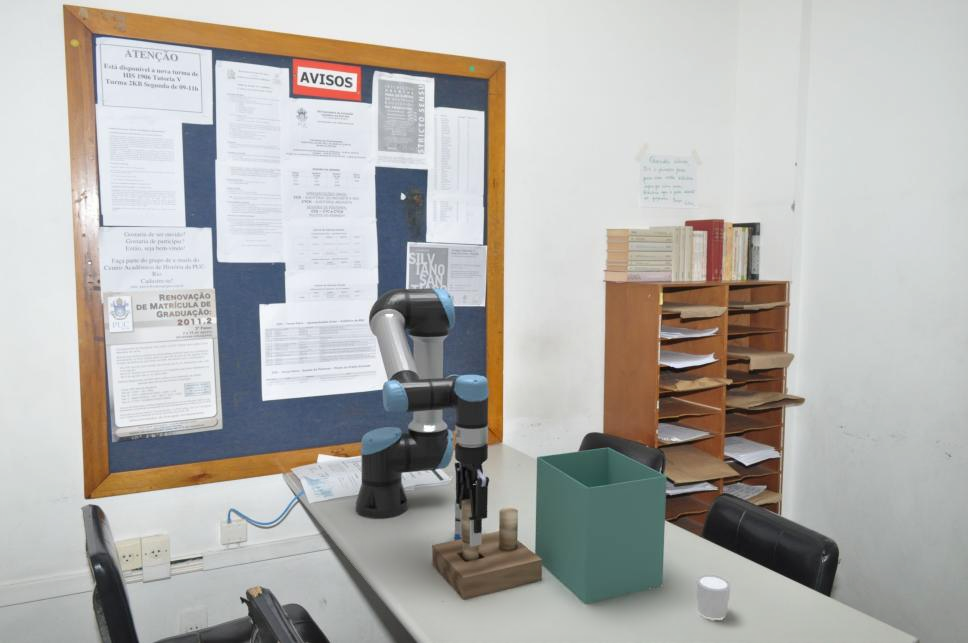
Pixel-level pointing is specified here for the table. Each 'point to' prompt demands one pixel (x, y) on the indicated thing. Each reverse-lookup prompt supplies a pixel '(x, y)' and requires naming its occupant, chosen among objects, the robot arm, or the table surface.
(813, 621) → the table surface
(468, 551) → the beech leg
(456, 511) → the ink box
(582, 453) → the box
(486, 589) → the seat board
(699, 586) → the light grey short cylinder
